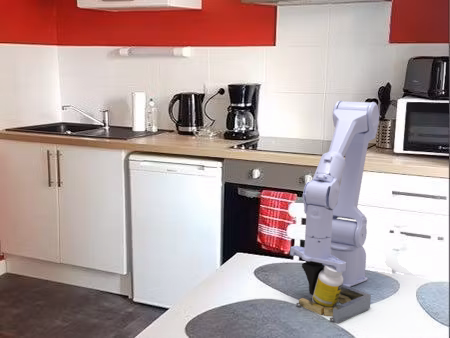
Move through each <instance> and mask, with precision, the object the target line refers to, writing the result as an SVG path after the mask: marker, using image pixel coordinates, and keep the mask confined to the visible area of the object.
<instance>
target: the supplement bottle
mask: <svg viewBox="0 0 450 338" xmlns="http://www.w3.org/2000/svg"><path fill="white" fill-rule="evenodd" d="M342 284H343V277H342V272H340V273H339V272H337V271H336V268H334V267H333V266H332V265H328V264H325V266H324V270H322V271H320V273H319V276H318V279H317V283H316V287H315V290H314V294H313V295H312V297H311V298H312V299H311V302H314V303H316V304H318V305H321V306H323V307H337V304H338V302H337V301H338V297H339V294H340V291H341V287H342Z"/></svg>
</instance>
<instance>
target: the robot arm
mask: <svg viewBox="0 0 450 338" xmlns="http://www.w3.org/2000/svg"><path fill="white" fill-rule="evenodd" d="M379 108H380V107H379V106H378V104H377V102H375V101H372V102H367V101H346V100H345V101H343V100H338V101H336V102H335V104H334V106H333V109H332V120H333V126H334V130H333V134H332V138H331V141H330V146H329V149H328V151H327V152H325V153H323V154H321V157H320V160H319V162H318V165H317V167H316V170H315V172H314V174H313V177H312V179H311V180H310V181H307V182H306V183H305V185H304V187H303V191H302V192H303V193H302V202H303V207H304V208H303V209H304V210H303V212H304V214H305V215H306V216H305V232H304V233H305V235H304V246H303V247H302V246H299V245H294V246H290V251H289V256H292V257H295V256H296V257H298V258H301V259H302V260H303V261H305V262H303V263H302V264H301V268H302V270H303V271H304V273H305V276H306V279H307V281H308V292H309V295H311V296H313V294H314V290H315V287H316V283H317V279H318V276H319V273H320V271H322V270H324V266H325V264H328V265H332V266H333V267H334V268H336V271H337V272H339V273H340V272H342V277H343V285H345V286H348V287H351V288H352V287H354V286H356V285H358V284H361V283H363V282H366V281H369V280H368V279H369V278H368V277H366V265H367V263H366V262H367V253H366V249H365V248H364V245H365V242H366V239H367V234H368V233H367V232H368V231H367V224H368V220H367V219H368V218H367V217H366V215H365V214H364V213H363V212H362V211H361V210H360V209H359V208H358V206H359V205H358V204H359V200H360V199H359V198H360V194H361V193H360V192H361V187H362V186H361V185H362V180H363V176H364V169H365V164H366V157H367V151H368V146H369V143H370V141H372V140H374V139H376V136H377V132H378V127H379V121H380V110H379Z"/></svg>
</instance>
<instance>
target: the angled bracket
mask: <svg viewBox="0 0 450 338" xmlns="http://www.w3.org/2000/svg"><path fill="white" fill-rule="evenodd" d="M371 297H372V296H371V294H369V293H366V292H364V291H361V290H358V289H356V288H354V287H352V286H351V287H348V286H345V285H343V284H342V287H341V291H340V294H339V297H338V301H337V303H341V304H340V305H336V307H323V306H321V305H318V304H316V303H314V302H313V301H312V300H309V299H307V298H304V297H301V298H299V299H298V302H296V303H295V304H296V305H295V306H296V308H301V307H303V308H304V309H307V310H309V311H311V312H313V313H314V314H315V313H316V314H317V315H321V316H325V317H326V316H327V317H329V322H331V323H334V324H335V323H336V324H339V323H342V322H344V321H347V320H349V319H351V318H353V317H355V316H358V315H360V314H362V313H364V312H366V311H369V309H370V308H371Z"/></svg>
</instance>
